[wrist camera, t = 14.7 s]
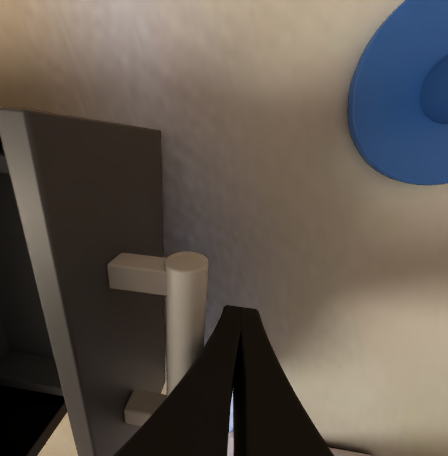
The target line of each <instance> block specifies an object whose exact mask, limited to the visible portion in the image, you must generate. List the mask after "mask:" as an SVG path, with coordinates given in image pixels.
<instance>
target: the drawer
mask: <svg viewBox="0 0 448 456" xmlns="http://www.w3.org/2000/svg"><path fill="white" fill-rule="evenodd" d="M0 137H1V142H2V146H3V149H0V385H2V386H7V387H13V388H19V389H25V390H30V391H36V392H42V393H48V394H54V395H59V396H64V400H65V404H66V408H67V412H68V416H69V420H70V424H71V428H72V432H73V436H74V441H75V445H76V449H77V453H78V456H113V455H114V454H115V453H116V452H117V451H118V450H119V449H120V448H121V447H122V446H123V445H124V444H125V443H126V442H127V441H128V440H129V439H130V438H131V437H132V436H133V435H134V434H135V433H136V432H137V431H138V430H139V429H140V428H141V426H142V425H143V424H144V423H145V422H146V421H147V420H148V419H149V418H150V416H151V415H152V414H153V413H154V412H155V411H156V410H157V408H158V407H159V406H160V405H161V404H162V403H163V401H164V400H165V399H166V398H167V397H168V396H169V394H170V393H171V392H172V391H173V389H174V388H175V387H176V386H177V384H178V383H179V382H180V380H181V379H182V378H183V376H184V375H185V374H186V372H187V371H188V370H189V368H190V367H191V365H192V364H193V362H194V361H195V360H196V358H197V357H198V355H199V354H200V352H201V351H202V349H203V348H204V331H205V314H206V297H207V279H208V260H207V258H206V257H205V256H204V255H202V254H200V253H196V252H189V251H185V252H178V253H174V254H172V255H170V256H169V257H167V258H164V257H163V215H162V161H161V131H159V130H154V129H148V128H142V127H136V126H130V125H123V124H117V123H111V122H105V121H99V120H93V119H87V118H81V117H75V116H69V115H63V114H57V113H50V112H44V111H38V110H32V109H26V108H14V107H0ZM164 295H165V311H166V372H167V395H164V394H161V391H162V389H163V386H164V383H165V380H166V377H165V323H164Z"/></svg>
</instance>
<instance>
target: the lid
mask: <svg viewBox="0 0 448 456" xmlns="http://www.w3.org/2000/svg"><path fill="white" fill-rule="evenodd" d="M348 123H349V128H350V133H351V136H352V139H353V141H354V144H355V146H356V148H357V150H358V151H359V153H360V155H361V156H362V157H363V158H364V160H365V161H366V162H367V163H368V164H369V165H370V166H371V167H372V168H373V169H375V170H376V171H378V172H379V173H381V174H382V175H385V176H387V177H389V178H391V179H394V180H398V181H401V182H405V183H410V184H416V185H438V184H446V183H448V0H405V1H404V2H403V3H402V4H401V5H400V6H399V7H398V8H397V9H396V10H395V11H394V12H393V13H392V14H391V15H390V16H389V17H388V18H387V19H386V20H385V21H384V23H383V24H382V25H381V26H380V27H379V29H378V30H377V31H376V32H375V34H374V35H373V37H372V38H371V40H370V41H369V43H368V44H367V46H366V48H365V50H364V52H363V54H362V55H361V57H360V59H359V62H358V64H357V67H356V69H355V72H354V75H353V78H352V82H351V85H350V91H349V97H348Z"/></svg>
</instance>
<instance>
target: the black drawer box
mask: <svg viewBox="0 0 448 456" xmlns="http://www.w3.org/2000/svg"><path fill="white" fill-rule="evenodd" d="M0 149H3V146H2V142H1V137H0ZM66 413H67V408H66V404H65V400H64V396H59V395H54V394H48V393H42V392H36V391H30V390H25V389H19V388H13V387H7V386H2V385H0V456H37V455H38V454H39V452H40V451H41V449H42V448H43V446H44V445H45V444H46V442H47V441H48V439H49V438H50V436H51V435H52V433H53V432H54V430H55V429H56V428H57V426H58V425H59V423H60V422H61V420H62V419H63V417H64V416H65V414H66Z"/></svg>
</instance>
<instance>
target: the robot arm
mask: <svg viewBox="0 0 448 456" xmlns="http://www.w3.org/2000/svg"><path fill="white" fill-rule="evenodd" d="M232 392H233V431H231V432H229V419H230V405H231V398H232ZM113 456H372V455H369V454H363V453H358V452H352V451H346V450H340V449H335V448H329V447H328V446H327V444H326V442H325V441H324V439H323V438H322V436H321V435H320V433H319V432H318V430H317V429H316V427H315V425H314V424H313V422H312V421H311V419H310V417H309V416H308V414H307V412H306V411H305V409H304V408H303V406H302V404H301V402H300V401H299V399H298V397H297V396H296V394H295V392H294V390H293V388H292V387H291V385H290V383H289V381H288V379H287V377H286V375H285V373H284V371H283V369H282V367H281V365H280V363H279V361H278V359H277V357H276V355H275V353H274V351H273V348H272V346H271V344H270V342H269V339H268V337H267V334H266V332H265V329H264V327H263V324H262V321H261V318H260V314H259V312H258V310H257V309H252V308H244V307H237V306H230V305H226V306H225V307H224V308H223V312H222V314H221V317H220V319H219V321H218V323H217V325H216V327H215V329H214V331H213V333H212V334H211V336H210V338H209V339H208V341H207V343H206V344H205V346H204V348H203V349H202V351H201V352H200V354H199V355H198V357H197V358H196V360H195V361H194V362H193V364H192V365H191V367H190V368H189V370H188V371H187V372H186V374H185V375H184V376H183V378H182V379H181V380H180V382H179V383H178V384H177V386H176V387H175V388H174V389H173V391H172V392H171V393H170V394H169V396H168V397H167V398H166V399H165V400H164V401H163V403H162V404H161V405H160V406H159V407H158V408H157V410H156V411H155V412H154V413H153V414H152V415H151V416H150V418H149V419H148V420H147V421H146V422H145V423H144V424H143V425H142V426H141V428H140V429H139V430H138V431H137V432H136V433H135V434H134V435H133V436H132V437H131V438H130V439H129V440H128V441H127V442H126V443H125V444H124V445H123V446H122V447H121V448H120V449H119V450H118V451H117V452H116V453H115V454H114V455H113Z"/></svg>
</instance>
